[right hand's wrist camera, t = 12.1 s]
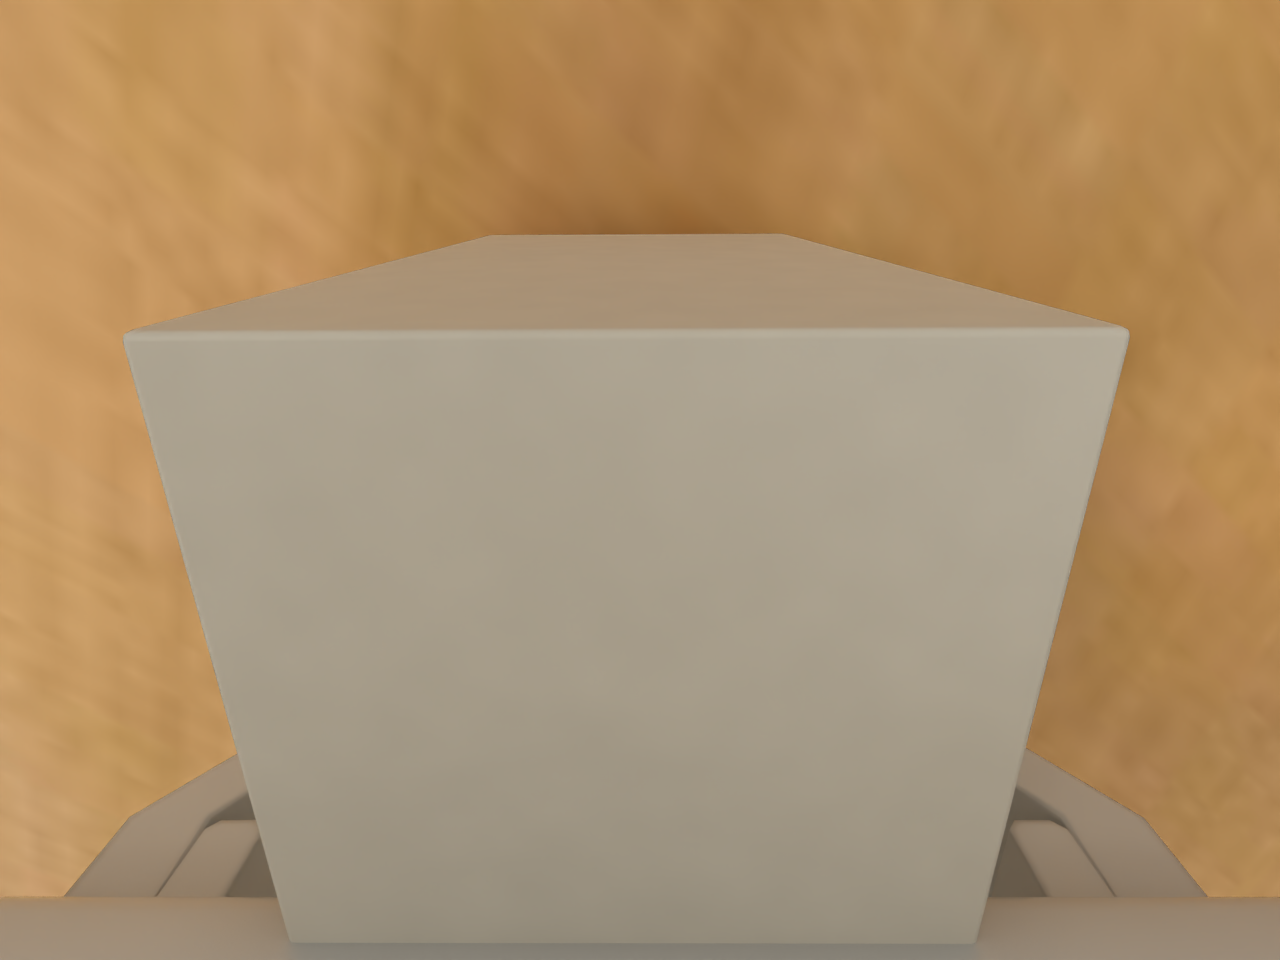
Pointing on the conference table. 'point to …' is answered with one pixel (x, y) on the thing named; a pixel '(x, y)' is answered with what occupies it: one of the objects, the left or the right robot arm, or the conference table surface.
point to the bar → (629, 582)
